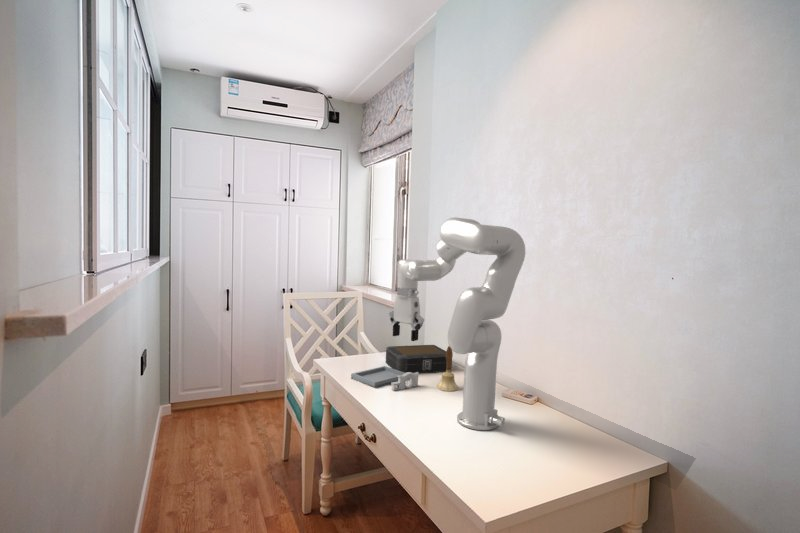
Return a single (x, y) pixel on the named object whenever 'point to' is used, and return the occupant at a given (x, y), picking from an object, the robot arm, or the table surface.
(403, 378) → the white toothed rack
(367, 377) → the tray
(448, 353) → the hand bell
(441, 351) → the cash box
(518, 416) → the table surface
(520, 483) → the table surface
